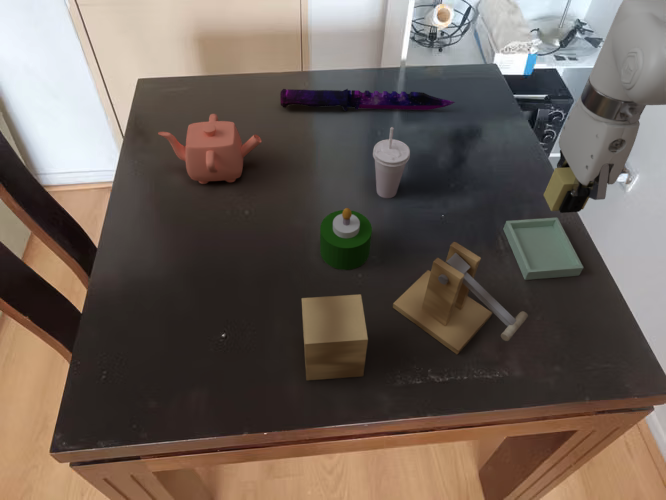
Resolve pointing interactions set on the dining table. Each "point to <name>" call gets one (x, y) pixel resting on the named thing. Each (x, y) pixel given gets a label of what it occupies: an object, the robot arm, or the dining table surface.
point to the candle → (345, 239)
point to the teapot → (213, 150)
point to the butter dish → (542, 248)
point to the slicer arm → (488, 299)
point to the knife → (362, 99)
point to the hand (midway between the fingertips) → (564, 200)
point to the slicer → (445, 302)
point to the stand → (334, 337)
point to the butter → (560, 187)
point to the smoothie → (389, 165)
